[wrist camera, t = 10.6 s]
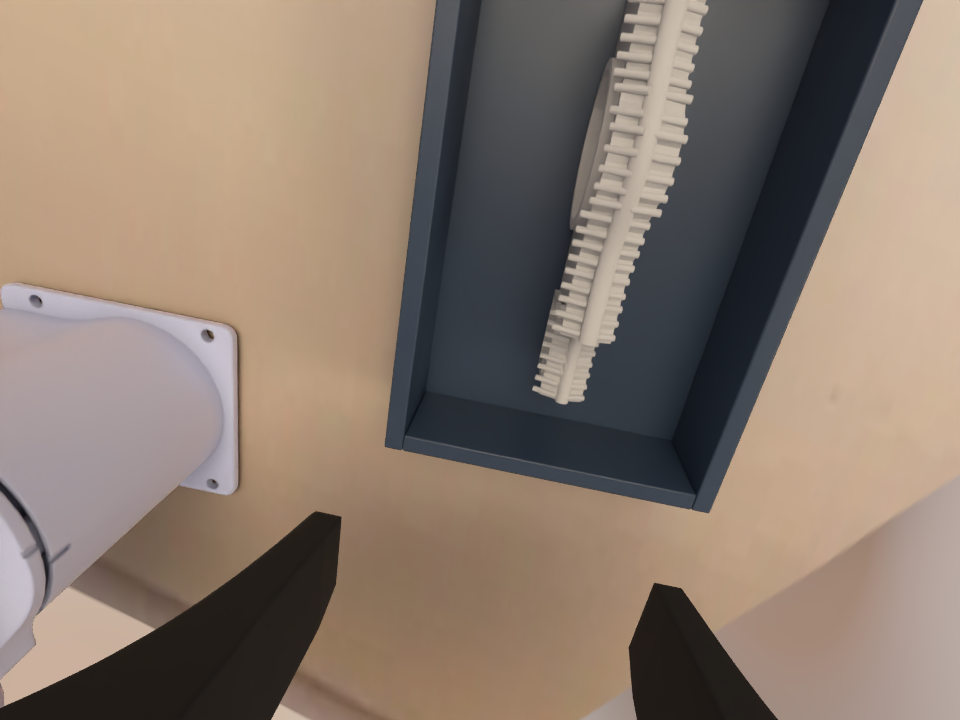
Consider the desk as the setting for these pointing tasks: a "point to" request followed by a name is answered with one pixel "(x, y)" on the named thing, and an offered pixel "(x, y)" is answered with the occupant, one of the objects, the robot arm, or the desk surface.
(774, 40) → the tote
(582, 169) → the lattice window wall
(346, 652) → the desk surface
